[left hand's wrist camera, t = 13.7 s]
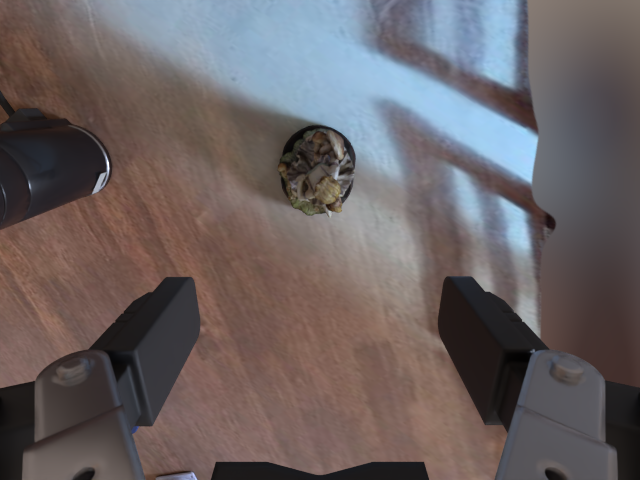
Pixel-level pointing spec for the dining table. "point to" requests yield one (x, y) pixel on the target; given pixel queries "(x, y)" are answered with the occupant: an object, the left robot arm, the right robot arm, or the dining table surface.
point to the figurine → (317, 170)
